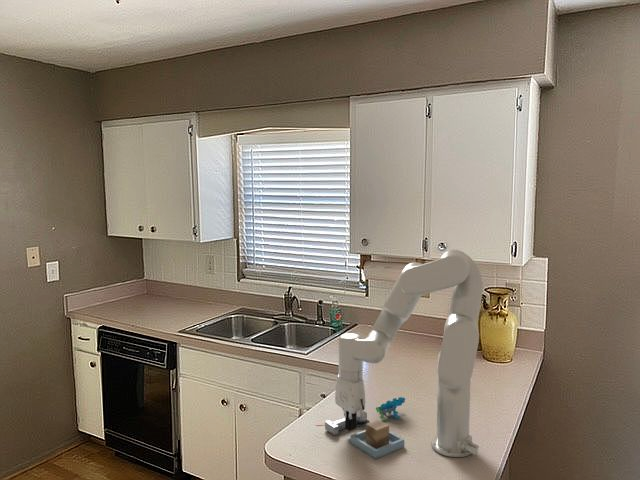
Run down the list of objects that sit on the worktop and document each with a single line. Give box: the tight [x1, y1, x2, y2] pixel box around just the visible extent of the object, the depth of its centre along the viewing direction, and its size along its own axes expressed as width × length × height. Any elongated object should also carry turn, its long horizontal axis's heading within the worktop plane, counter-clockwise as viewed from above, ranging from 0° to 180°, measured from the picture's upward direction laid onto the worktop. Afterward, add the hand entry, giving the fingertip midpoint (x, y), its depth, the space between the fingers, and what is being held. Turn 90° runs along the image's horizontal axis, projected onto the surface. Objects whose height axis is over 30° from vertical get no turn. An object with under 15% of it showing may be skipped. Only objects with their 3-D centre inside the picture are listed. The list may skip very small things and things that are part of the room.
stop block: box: [365, 419, 390, 449], centre depth 160 cm, size 5×5×6 cm
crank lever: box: [324, 410, 368, 436], centre depth 172 cm, size 15×5×3 cm, turn 126°
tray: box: [349, 429, 405, 460], centre depth 160 cm, size 12×12×2 cm
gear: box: [375, 396, 406, 421], centre depth 179 cm, size 11×6×10 cm
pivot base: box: [315, 419, 370, 428], centre depth 174 cm, size 6×18×1 cm, turn 106°
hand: (350, 428), depth 166 cm, fingers closed
